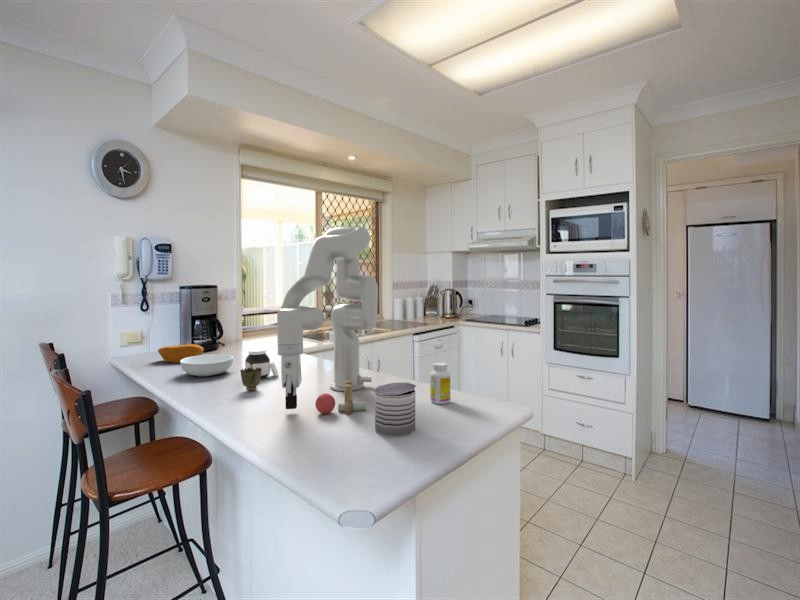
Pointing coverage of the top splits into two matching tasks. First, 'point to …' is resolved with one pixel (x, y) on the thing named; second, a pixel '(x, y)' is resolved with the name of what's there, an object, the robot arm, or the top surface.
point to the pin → (348, 399)
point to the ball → (325, 403)
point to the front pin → (355, 406)
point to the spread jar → (260, 362)
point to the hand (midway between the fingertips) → (291, 408)
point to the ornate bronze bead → (251, 378)
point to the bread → (180, 352)
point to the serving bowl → (206, 364)
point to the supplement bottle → (440, 384)
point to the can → (395, 409)
